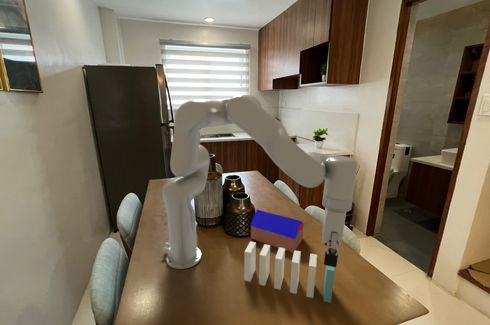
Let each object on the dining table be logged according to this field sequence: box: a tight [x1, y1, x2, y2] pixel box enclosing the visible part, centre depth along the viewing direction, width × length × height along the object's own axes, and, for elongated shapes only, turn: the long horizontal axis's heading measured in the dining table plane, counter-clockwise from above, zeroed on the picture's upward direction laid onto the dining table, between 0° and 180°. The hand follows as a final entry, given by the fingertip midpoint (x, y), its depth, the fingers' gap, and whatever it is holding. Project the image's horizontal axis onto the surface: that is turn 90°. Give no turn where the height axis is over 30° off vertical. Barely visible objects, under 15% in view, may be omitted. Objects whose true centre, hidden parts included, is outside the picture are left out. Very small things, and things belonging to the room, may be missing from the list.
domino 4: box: [289, 250, 302, 295], centre depth 74 cm, size 2×6×11 cm, turn 161°
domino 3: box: [273, 247, 286, 291], centre depth 76 cm, size 2×6×11 cm, turn 161°
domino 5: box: [306, 253, 318, 299], centre depth 72 cm, size 2×6×11 cm, turn 161°
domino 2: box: [258, 243, 271, 287], centre depth 77 cm, size 2×6×11 cm, turn 161°
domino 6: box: [323, 265, 335, 304], centre depth 71 cm, size 2×6×11 cm, turn 162°
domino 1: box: [243, 241, 257, 283], centre depth 79 cm, size 2×6×11 cm, turn 161°
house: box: [249, 209, 305, 254], centre depth 100 cm, size 12×20×12 cm, turn 59°
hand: (329, 255), depth 69 cm, fingers open, 9 cm apart
